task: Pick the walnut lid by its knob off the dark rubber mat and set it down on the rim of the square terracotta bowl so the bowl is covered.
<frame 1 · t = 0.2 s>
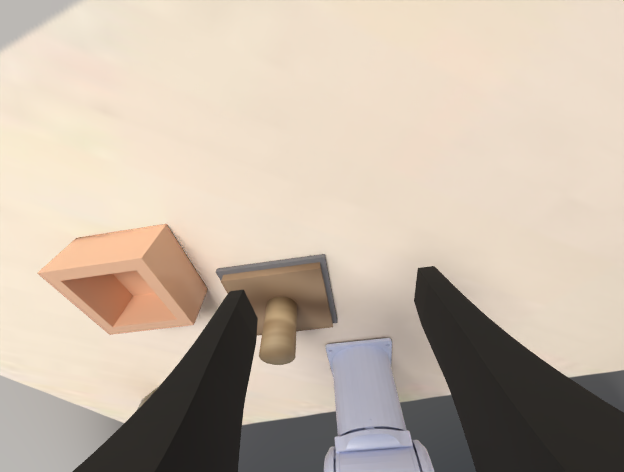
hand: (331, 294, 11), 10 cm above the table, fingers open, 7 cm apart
lid: (282, 299, 26), resting on mat
mat: (282, 296, 27), on the table
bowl: (147, 265, 24), on the table
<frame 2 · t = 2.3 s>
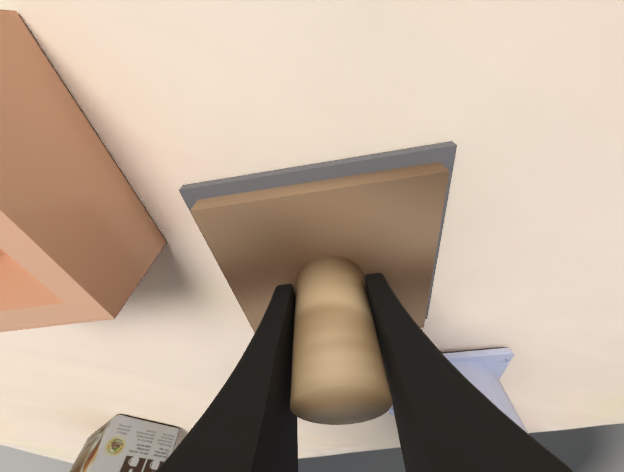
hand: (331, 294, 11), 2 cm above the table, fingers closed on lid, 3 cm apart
lid: (328, 267, 12), resting on mat, touching gripper
coffee box: (134, 429, 27), on the table
mat: (328, 262, 13), on the table
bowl: (12, 174, 10), on the table
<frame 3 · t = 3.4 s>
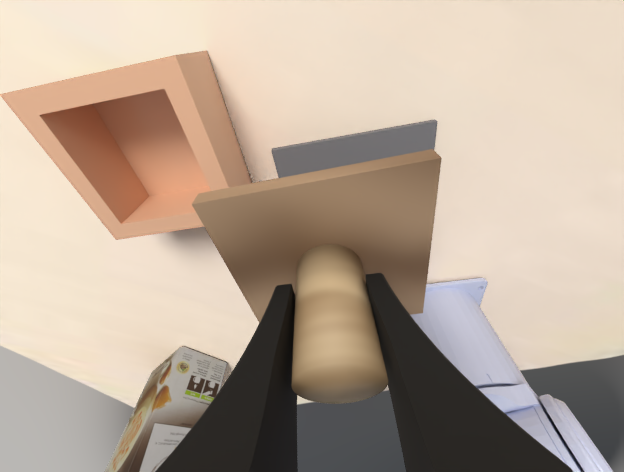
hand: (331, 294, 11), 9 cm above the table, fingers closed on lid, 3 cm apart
lid: (328, 257, 13), point 7 cm above the table, touching gripper
coffee box: (189, 365, 34), on the table
mat: (356, 203, 19), on the table
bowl: (172, 141, 16), on the table
when the fingers open (7 cm above the table, at t = 4.5 s): lid stays where it is, resting on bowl.
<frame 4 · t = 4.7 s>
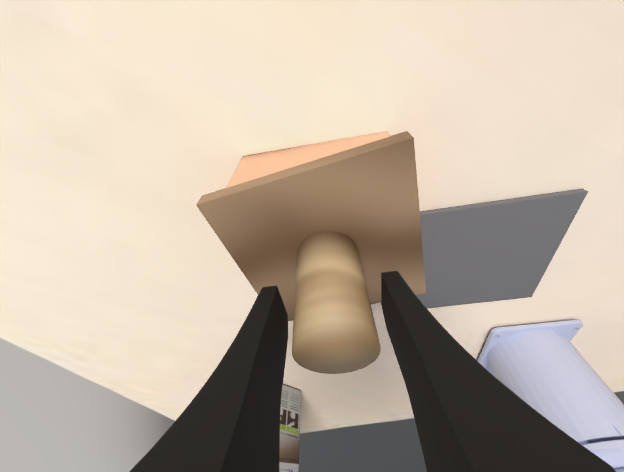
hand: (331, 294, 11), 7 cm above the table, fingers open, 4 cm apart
lid: (326, 244, 14), point 4 cm above the table, touching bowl
coffee box: (261, 393, 34), on the table
mat: (480, 257, 20), on the table
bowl: (323, 206, 17), on the table
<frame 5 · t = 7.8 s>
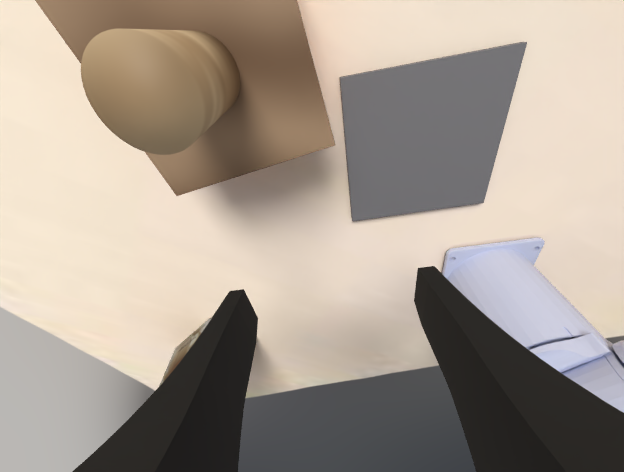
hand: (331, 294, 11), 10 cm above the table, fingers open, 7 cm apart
lid: (209, 73, 12), point 4 cm above the table, touching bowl
coffee box: (215, 340, 32), on the table
mat: (420, 147, 18), on the table
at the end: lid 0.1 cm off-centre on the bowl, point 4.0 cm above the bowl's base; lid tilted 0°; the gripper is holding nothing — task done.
